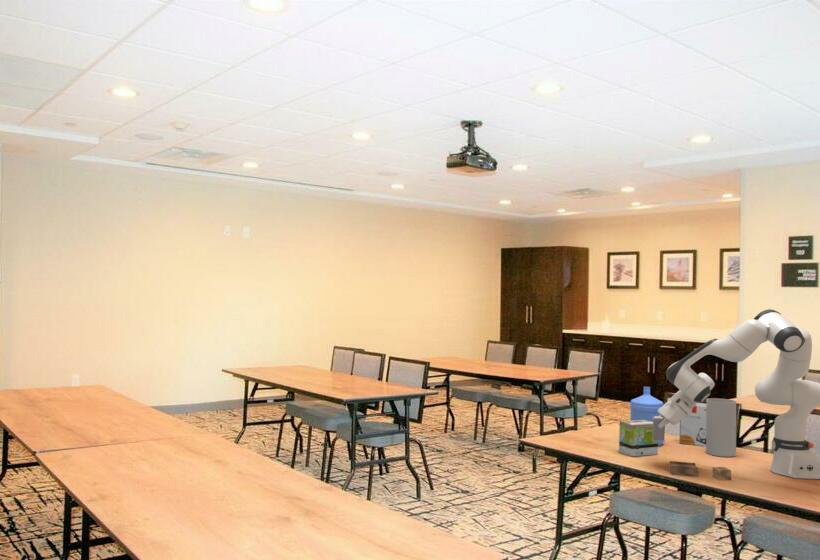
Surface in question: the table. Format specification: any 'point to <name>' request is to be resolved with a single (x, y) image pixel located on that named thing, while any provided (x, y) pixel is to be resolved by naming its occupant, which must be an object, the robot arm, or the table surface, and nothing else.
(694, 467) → the stand
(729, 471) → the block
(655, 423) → the block
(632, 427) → the tea box
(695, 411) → the hard drive box
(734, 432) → the cylinder vase
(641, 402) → the water jug
